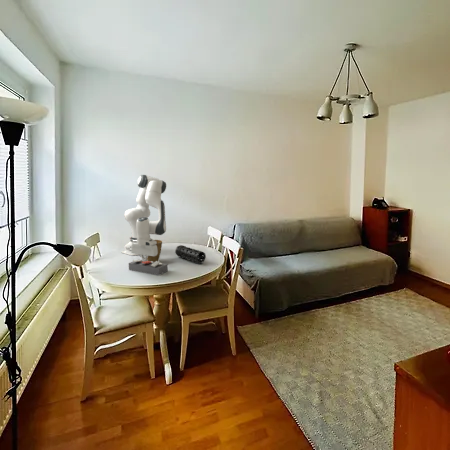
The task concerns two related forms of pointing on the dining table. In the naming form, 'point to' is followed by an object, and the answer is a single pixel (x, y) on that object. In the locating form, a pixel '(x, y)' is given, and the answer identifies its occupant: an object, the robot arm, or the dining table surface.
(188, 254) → the muzzle brake
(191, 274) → the dining table surface
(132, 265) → the switch strip
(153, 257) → the plant pot
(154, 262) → the right rocker
